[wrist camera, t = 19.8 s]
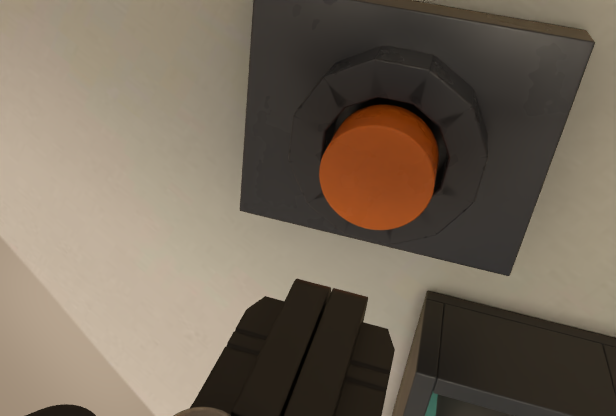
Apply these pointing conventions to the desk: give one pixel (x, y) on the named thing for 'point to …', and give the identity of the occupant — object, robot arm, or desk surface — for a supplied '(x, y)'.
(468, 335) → the divided tray
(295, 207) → the panel
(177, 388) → the desk surface
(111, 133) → the desk surface
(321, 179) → the button
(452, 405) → the beverage can
